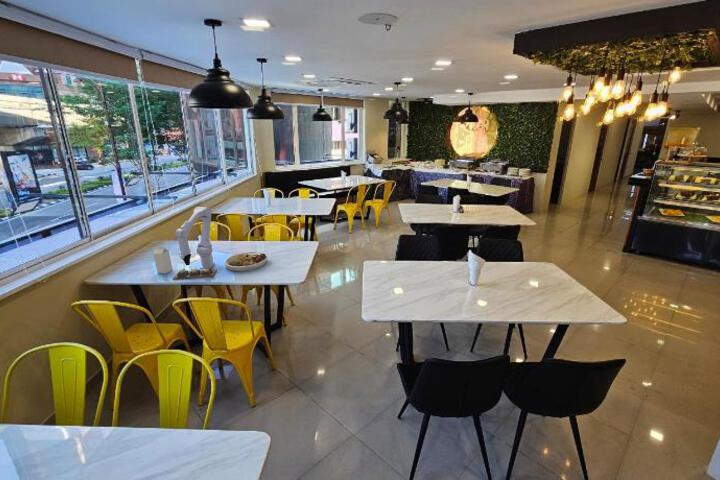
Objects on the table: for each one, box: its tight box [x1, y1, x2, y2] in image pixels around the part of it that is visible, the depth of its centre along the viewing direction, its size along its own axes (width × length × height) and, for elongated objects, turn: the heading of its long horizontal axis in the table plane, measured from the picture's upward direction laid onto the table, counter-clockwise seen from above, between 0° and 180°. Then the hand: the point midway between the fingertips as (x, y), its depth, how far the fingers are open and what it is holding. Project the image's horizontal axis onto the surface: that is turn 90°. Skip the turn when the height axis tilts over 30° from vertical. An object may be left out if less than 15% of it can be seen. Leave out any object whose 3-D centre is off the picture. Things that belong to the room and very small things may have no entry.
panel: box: [172, 268, 218, 281], centre depth 245 cm, size 11×26×3 cm, turn 96°
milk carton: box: [152, 246, 173, 274], centre depth 251 cm, size 7×7×19 cm
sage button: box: [178, 267, 186, 274], centre depth 243 cm, size 4×4×2 cm
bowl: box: [224, 251, 268, 273], centre depth 261 cm, size 30×30×8 cm
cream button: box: [190, 267, 198, 273], centre depth 244 cm, size 4×4×2 cm
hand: (187, 264), depth 242 cm, fingers closed
